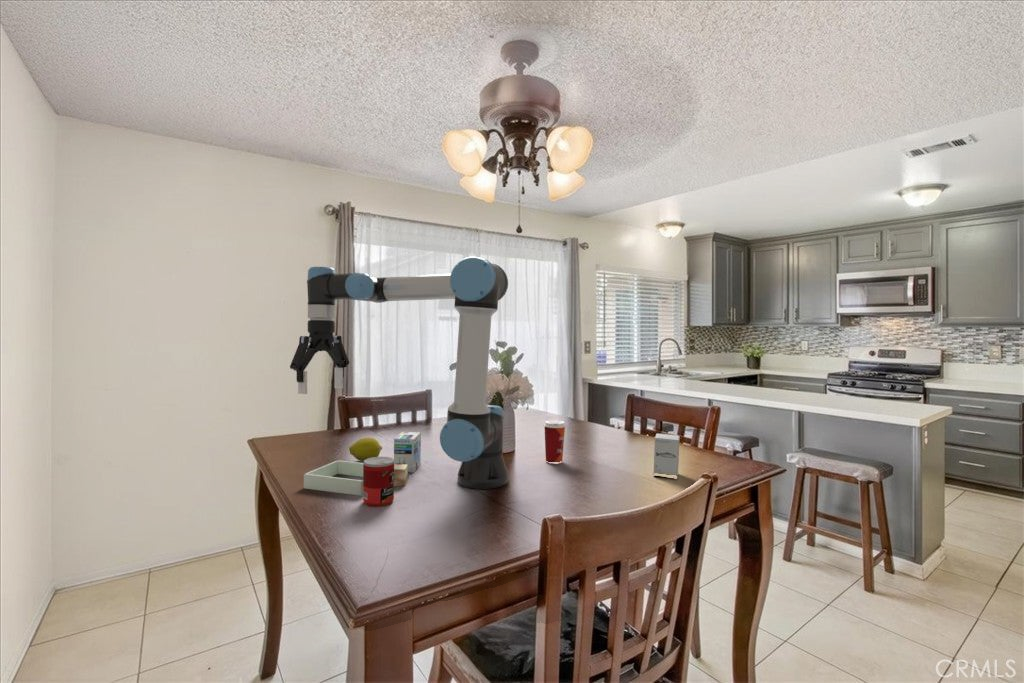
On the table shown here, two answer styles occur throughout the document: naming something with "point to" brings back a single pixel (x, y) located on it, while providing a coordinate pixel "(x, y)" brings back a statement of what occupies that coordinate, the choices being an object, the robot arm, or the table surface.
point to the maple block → (400, 474)
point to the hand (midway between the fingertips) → (321, 391)
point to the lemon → (365, 449)
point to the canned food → (378, 481)
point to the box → (326, 482)
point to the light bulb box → (408, 450)
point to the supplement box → (666, 454)
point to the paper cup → (554, 440)
